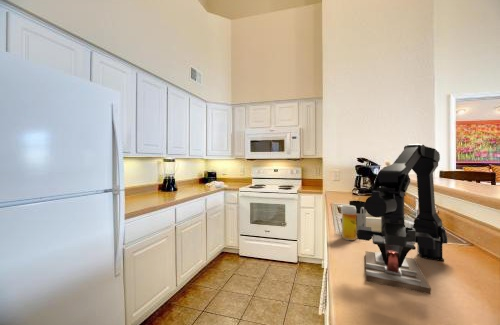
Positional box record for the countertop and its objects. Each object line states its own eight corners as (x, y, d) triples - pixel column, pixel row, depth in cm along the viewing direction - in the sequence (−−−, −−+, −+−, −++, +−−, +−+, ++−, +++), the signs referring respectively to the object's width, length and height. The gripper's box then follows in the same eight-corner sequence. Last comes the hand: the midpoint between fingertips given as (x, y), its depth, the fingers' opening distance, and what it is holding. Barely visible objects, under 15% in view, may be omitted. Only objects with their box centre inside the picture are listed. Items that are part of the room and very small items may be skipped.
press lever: (400, 273, 67) (400, 251, 67) (401, 279, 63) (401, 255, 63) (384, 270, 68) (384, 249, 68) (385, 276, 65) (385, 253, 65)
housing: (397, 256, 78) (397, 236, 78) (401, 264, 72) (400, 242, 72) (381, 253, 81) (381, 234, 81) (382, 261, 74) (382, 239, 74)
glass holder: (363, 229, 118) (363, 200, 119) (374, 238, 104) (374, 205, 105) (345, 228, 120) (345, 200, 120) (354, 237, 106) (354, 205, 106)
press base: (414, 263, 78) (414, 255, 78) (430, 294, 59) (430, 283, 59) (365, 255, 85) (365, 247, 85) (366, 280, 66) (366, 271, 66)
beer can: (358, 241, 100) (357, 207, 100) (343, 240, 101) (343, 206, 101) (354, 237, 106) (354, 205, 106) (340, 236, 107) (340, 204, 107)
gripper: (356, 214, 63) (356, 271, 63) (441, 222, 55) (442, 287, 55) (357, 207, 73) (357, 256, 73) (429, 213, 65) (429, 268, 65)
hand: (392, 266), depth 66 cm, fingers closed on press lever, 3 cm apart
